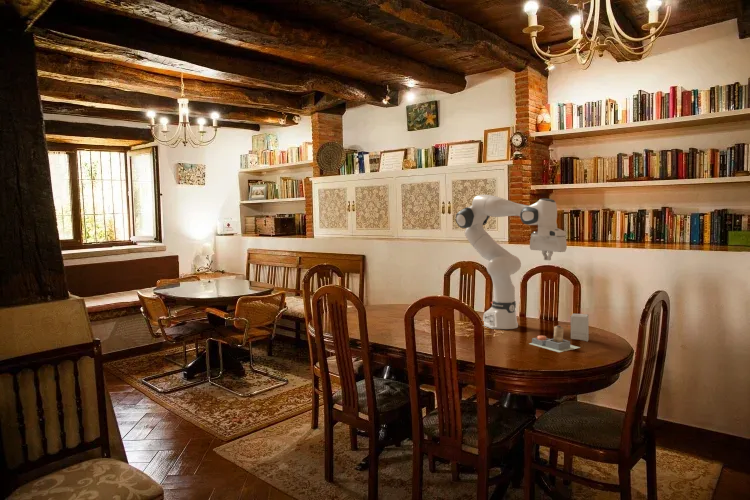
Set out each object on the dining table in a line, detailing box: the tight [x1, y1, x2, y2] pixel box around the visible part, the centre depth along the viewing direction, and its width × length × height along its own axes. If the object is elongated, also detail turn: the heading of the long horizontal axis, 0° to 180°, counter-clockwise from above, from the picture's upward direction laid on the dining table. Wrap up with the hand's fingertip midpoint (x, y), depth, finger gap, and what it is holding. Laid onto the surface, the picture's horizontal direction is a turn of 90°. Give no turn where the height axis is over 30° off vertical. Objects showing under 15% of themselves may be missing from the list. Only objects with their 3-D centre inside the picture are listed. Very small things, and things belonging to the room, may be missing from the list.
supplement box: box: [570, 313, 590, 342], centre depth 253 cm, size 7×7×13 cm
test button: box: [536, 335, 547, 341], centre depth 244 cm, size 4×4×2 cm
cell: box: [553, 325, 564, 343], centre depth 237 cm, size 4×4×10 cm
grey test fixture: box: [528, 337, 581, 353], centre depth 240 cm, size 18×14×4 cm
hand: (547, 260), depth 255 cm, fingers closed
